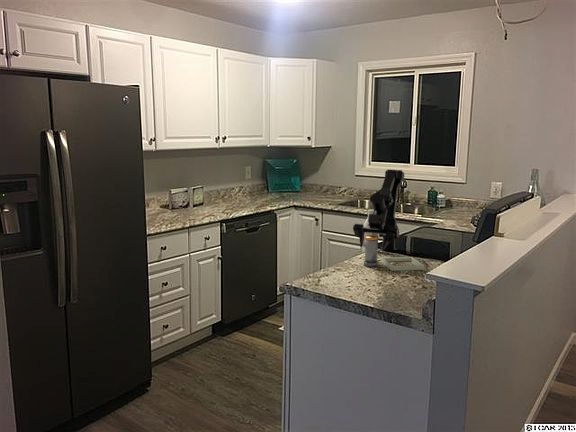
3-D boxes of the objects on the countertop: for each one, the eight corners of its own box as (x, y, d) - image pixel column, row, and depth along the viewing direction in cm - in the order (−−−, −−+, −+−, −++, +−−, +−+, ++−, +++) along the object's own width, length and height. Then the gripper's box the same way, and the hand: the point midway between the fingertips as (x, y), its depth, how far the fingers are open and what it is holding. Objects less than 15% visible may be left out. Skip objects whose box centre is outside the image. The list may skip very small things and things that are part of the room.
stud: (361, 265, 196) (361, 263, 196) (376, 265, 197) (376, 263, 196) (365, 270, 190) (365, 267, 189) (380, 269, 190) (380, 267, 190)
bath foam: (360, 252, 218) (361, 210, 214) (365, 248, 224) (366, 208, 220) (374, 254, 215) (375, 211, 211) (379, 250, 221) (380, 209, 217)
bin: (381, 263, 199) (381, 257, 199) (411, 262, 201) (411, 256, 200) (391, 272, 186) (391, 266, 186) (423, 271, 187) (424, 265, 187)
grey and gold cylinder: (362, 263, 195) (363, 235, 193) (375, 263, 196) (376, 235, 194) (366, 267, 190) (366, 238, 188) (379, 267, 190) (380, 238, 188)
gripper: (354, 205, 198) (346, 235, 190) (398, 208, 190) (392, 239, 182) (359, 220, 206) (351, 249, 198) (401, 223, 199) (395, 254, 191)
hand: (371, 248), depth 192 cm, fingers open, 9 cm apart
